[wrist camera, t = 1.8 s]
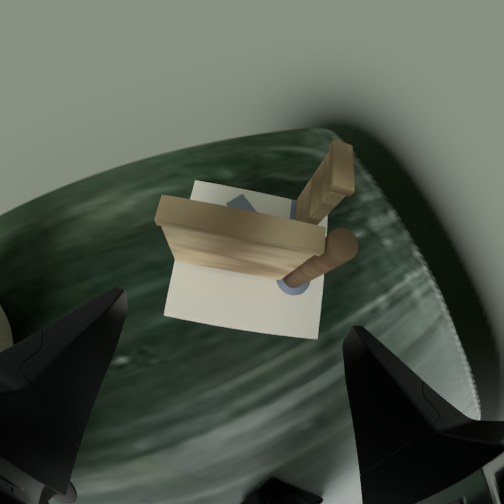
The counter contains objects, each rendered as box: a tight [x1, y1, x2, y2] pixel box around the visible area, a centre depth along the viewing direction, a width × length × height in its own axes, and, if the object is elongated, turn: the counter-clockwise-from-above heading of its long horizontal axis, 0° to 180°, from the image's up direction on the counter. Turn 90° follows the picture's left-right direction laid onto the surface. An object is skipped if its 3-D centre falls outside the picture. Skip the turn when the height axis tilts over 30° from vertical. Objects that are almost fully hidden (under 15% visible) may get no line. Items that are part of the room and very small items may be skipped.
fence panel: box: [154, 195, 326, 280], centre depth 18 cm, size 9×1×9 cm, turn 81°
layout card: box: [164, 180, 328, 339], centre depth 23 cm, size 12×12×1 cm
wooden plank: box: [283, 139, 358, 288], centre depth 19 cm, size 8×2×9 cm, turn 171°
